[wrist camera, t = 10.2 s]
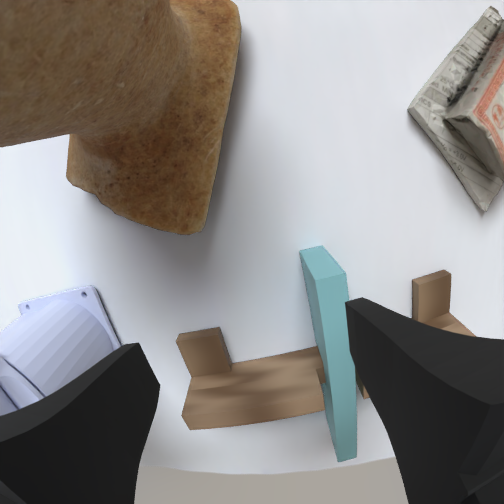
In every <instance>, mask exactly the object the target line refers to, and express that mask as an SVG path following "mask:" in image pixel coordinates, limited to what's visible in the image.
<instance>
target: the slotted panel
mask: <svg viewBox="0 0 504 504" xmlns="http://www.w3.org/2000/svg"><path fill="white" fill-rule="evenodd" d="M299 252H300V257H301V262H302V267H303V272H304V278H305V283H306V288H307V294H308V299H309V305H310V310H311V316H312V322H313V328H314V334H315V340H316V343H317V346H318V349H319V352H320V355H321V358H322V361H323V366H324V373H325V380H326V383H323V384H322V385H323V393H324V400H325V407H326V415H327V421H328V425H329V429H330V433H331V437H332V441H333V445H334V449H335V453H336V457H337V461H338V462H342V461H345V460H349V459H353V458H356V456H357V409H356V380H355V365H354V362H353V360H352V357H351V354H350V350H349V338H348V328H347V318H346V309H345V302H347V301H349V295H348V287H347V279H346V273H345V271H344V270H343V269H342V268H341V267H340V265H339V264H338V263H337V262H336V261H335V259H334V258H333V257H332V256H331V255H330V254H329V252H328V251H327V250H326V249H325V248H324V247H323V246H318V247H314V248H309V249H305V250H301V251H299Z"/></svg>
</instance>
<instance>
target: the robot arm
mask: <svg viewBox="0 0 504 504" xmlns="http://www.w3.org/2000/svg"><path fill="white" fill-rule="evenodd" d="M84 292H86V294H87V296H86V295H85V294H84ZM18 308H19V310H20V313H21V316H20V317H18V318H17V319H16V320H15V321H13V322H12V323H11V324H9V325H8V326H7V327H6V328H5V329H3V330H2V331H1V332H0V504H134V498H135V489H136V481H137V475H138V468H139V463H140V459H141V456H142V452H143V449H144V446H145V443H146V440H147V437H148V434H149V431H150V428H151V425H152V421H153V418H154V415H155V412H156V409H157V403H158V398H159V391H160V384H159V382H158V380H157V378H156V376H155V374H154V373H153V371H152V369H151V367H150V365H149V363H148V361H147V358H146V356H145V354H144V352H143V350H142V348H141V346H140V344H139V343H132V344H125V345H123V346H121V345H120V343H119V341H118V339H117V337H116V335H115V333H114V330H113V328H112V326H111V324H110V322H109V319H108V317H107V315H106V313H105V310H104V308H103V305H102V303H101V301H100V298H99V296H98V293H97V291H96V289H95V288H94V287H93V286H85V287H81V288H76V289H72V290H68V291H64V292H60V293H56V294H51V295H47V296H43V297H39V298H35V299H31V300H27V301H22V302H20V303H19V304H18ZM345 309H346V318H347V328H348V338H349V350H350V354H351V357H352V360H353V362H354V365H355V368H356V370H357V373H358V375H359V377H360V379H361V381H362V383H363V385H364V387H365V389H366V391H367V393H368V395H369V397H370V399H371V400H372V402H373V404H374V406H375V408H376V410H377V412H378V414H379V416H380V418H381V420H382V422H383V424H384V426H385V428H386V431H387V433H388V436H389V439H390V441H391V444H392V447H393V450H394V453H395V456H396V459H397V463H398V465H399V469H400V473H401V476H402V479H403V483H404V487H405V491H406V495H407V499H408V503H409V504H504V340H503V339H490V338H482V337H475V336H469V335H463V334H459V333H454V332H451V331H447V330H443V329H439V328H436V327H432V326H429V325H427V324H424V323H421V322H418V321H416V320H413V319H410V318H408V317H406V316H403V315H401V314H399V313H396V312H394V311H392V310H390V309H387V308H385V307H383V306H381V305H379V304H377V303H375V302H372V301H370V300H368V299H365V298H363V297H362V298H358V299H354V300H350V301H347V302H345Z"/></svg>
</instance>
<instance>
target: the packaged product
mask: <svg viewBox="0 0 504 504" xmlns="http://www.w3.org/2000/svg"><path fill="white" fill-rule="evenodd" d="M407 110H408V111H409V113H410V114H411V115H412V117H413V118H414V119H415V120H416V121H417V122H418V124H419V125H420V126H421V127H422V128H423V130H424V131H425V132H426V133H427V135H428V136H429V137H430V139H431V140H432V141H433V142H434V144H435V145H436V146H437V147H438V149H439V150H440V152H441V153H442V154H443V156H444V157H445V159H446V160H447V162H448V163H449V164H450V166H451V167H452V169H453V170H454V172H455V173H456V175H457V176H458V178H459V179H460V181H461V182H462V184H463V185H464V187H465V189H466V190H467V192H468V193H469V195H470V196H471V198H472V199H473V200H474V202H475V203H476V204H477V206H478V207H479V208H480V209H482V210H484V211H487V209H488V207H489V205H490V203H491V201H492V200H493V198H494V197H495V196H496V195H497V194H498V192H499V190H500V188H501V186H502V184H503V182H504V20H503V19H502V17H501V16H500V15H499V13H498V11H497V10H496V9H495V8H493V7H492V6H490V7H489V8H488V9H486V10H485V12H484V13H483V15H482V16H481V17H480V19H479V20H478V21H477V22H476V23H475V24H474V26H473V27H472V28H471V29H470V30H469V31H468V32H467V33H466V34H465V36H464V37H463V38H462V39H461V40H460V41H459V43H458V44H457V45H456V46H455V47H454V48H453V49H452V51H451V52H450V53H449V54H448V55H447V57H446V58H445V59H444V61H443V62H442V63H441V64H440V65H439V67H438V68H437V69H436V70H435V72H434V73H433V74H432V76H431V77H430V78H429V79H428V81H427V82H426V83H425V85H424V86H423V87H422V88H421V90H420V91H419V92H418V94H417V95H416V97H415V98H414V99H413V101H412V102H411V104H410V105H409V107H408V109H407Z"/></svg>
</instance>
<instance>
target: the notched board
mask: <svg viewBox="0 0 504 504" xmlns="http://www.w3.org/2000/svg"><path fill="white" fill-rule="evenodd" d="M450 293H451V274H450V273H449V272H447V271H446V270H441V271H438V272H435V273H432V274H429V275H426V276H423V277H419V278H416V279H413V280H412V318H411V319H413V320H416V321H418V322H421V323H424V324H427V325H429V326H432V327H436V328H439V329H443V330H447V331H451V332H454V333H459V334H463V335H469V336H475V335H474V334H473V333H472V332H471V331H470V330H469V329H468V328H466V327H465V326H464V325H463V324H462V323H461V322H460V321H458V320H457V319H456V318H455V317H454V316H453V315H452V314H450V313H449V309H450ZM475 337H476V336H475ZM176 343H177V345H178V348H179V350H180V352H181V355H182V357H183V359H184V361H185V364H186V366H187V368H188V370H189V373H190V375H191V377H192V378H191V381H190V385H189V389H188V393H187V396H186V400H185V404H184V408H183V411H182V415H181V416H182V418H183V419H184V421H185V423H186V424H187V426H188V428H189V429H190V430H198V429H211V428H222V427H232V426H240V425H248V424H255V423H262V422H268V421H274V420H280V419H285V418H290V417H296V416H300V415H305V414H310V413H314V412H318V411H323V410H325V405H324V398H323V392H322V389H321V385H320V384H323V383H326V380H325V373H324V366H323V361H322V358H321V355H320V352H319V349H318V346H315V347H311V348H307V349H303V350H298V351H294V352H289V353H285V354H280V355H275V356H270V357H265V358H260V359H255V360H249V361H244V362H238V363H232V362H231V359H230V356H229V354H228V351H227V348H226V345H225V342H224V339H223V336H222V333H221V330H220V327H217V328H211V329H206V330H200V331H194V332H188V333H182V334H179V335H178V338H177V340H176ZM355 380H356V382H357V384H358V387H359V389H360V391H361V394H362V396H363V398H364V399H366V398H369V395H368V393H367V391H366V389H365V387H364V385H363V383H362V381H361V379H360V377H359V375H358V373H357V370H356V368H355Z"/></svg>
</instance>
